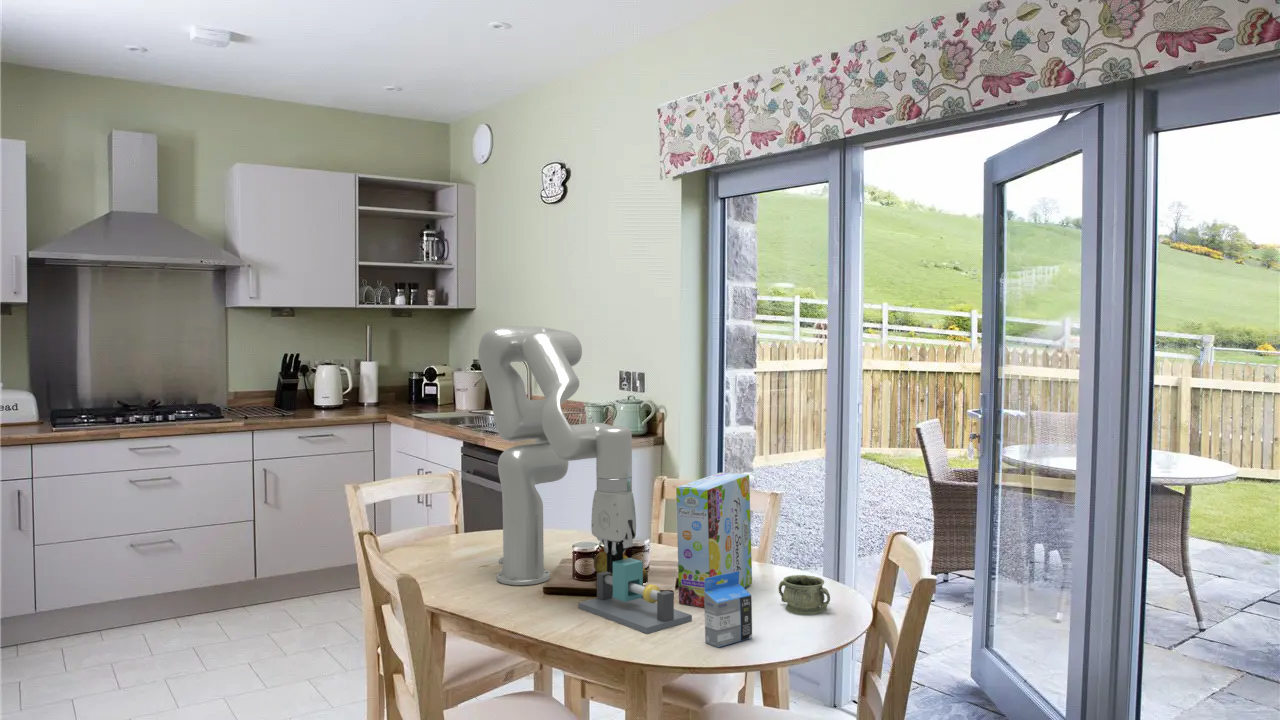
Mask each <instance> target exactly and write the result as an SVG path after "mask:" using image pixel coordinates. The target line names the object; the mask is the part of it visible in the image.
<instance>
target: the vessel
mask: <svg viewBox="0 0 1280 720" xmlns="http://www.w3.org/2000/svg"><path fill="white" fill-rule="evenodd" d="M824 584H825V580H824V579H823V578H822V577H818V576H814V575H806V574H793V575H787V576H785V577H784V578H783V580H781V581H780V582H779V584H778V593H779V595H780V596H781V602H783V603H787V605H786V606H785V610H786V611H787V612H788V613H790V614H794V615H800V616H811V615H817V614H820V613H821V612H822V611H823V612H824V611H827V610H828V608H827V607H828V605H829V604H830V601H831V595H830V592H829V591H828V588H825V587H823V585H824ZM783 586H784V589H783V591H782V587H783ZM825 596H826V601H825Z"/></svg>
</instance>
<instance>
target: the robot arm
mask: <svg viewBox="0 0 1280 720" xmlns="http://www.w3.org/2000/svg"><path fill="white" fill-rule="evenodd" d="M477 353H478V355H477V356H478V357H477V358H478V363H479V365H480V369H481V373H482V374H483V377H484V379H485V382H486V385H487V388H488V391H489V397H490V403H491V408H492V412H493V417H494V421H495V427H496V430H497V433H498V435H499V437H500V438H501V439H502V440H504V441H507V442H516V441H520V442H521V441H527V440H528V441H529V440H534V441H535V443H529V444H523V445H516V446H511V447H509V448H507V449H505V450H504V451H503V452H502V453H501V454H500V455H499V458H498V461H497V471H498V476H499V477H498V478H499V481H500V488H501V489H500V490H501V498H502V503H501V504H502V558H499V559H498V561H497V563H498V564H499V565H501V567H502V568H501V569H502V570H500V571H499V572H498V573H497V574H496V581H498V583H501V584H505V585H509V586H528V585H529V586H531V585H536V584H541V583H544V582H547V581H548V580H550V578H551V572H550V571H549V570H547V569H546V568H544V565H545V564H544V561H545V560H544V503H543V500H542V497H541V495H540V493H539V492H538V490H537V488H536V486H535V485H540V484H547V483H553V482H557V481H560V480H562V479H564V477H565V476H566V475H567V472H568V471H569V470H568V469H569V461H572V462H573V461H580V460H587V459H596V463H595V464H596V465H595V466H596V468H595V471H596V473H595V474H596V490H594V493H593V499H592V508H591V527H590V529H591V534H592V536H594V537H595V538H596V539H597V540H598V541H600V543H602V544H603V547H604V549H603V550H605V552H606V553H607V572H610V573H613V562H614V561H618V560H623V555H624V554H625V553H626V549H628V548H633V547H634V539H635V538H636V535H637V515H636V514H637V513H636V503H635V499H634V493H633V452H632V451H633V450H632V448H633V440H632V439H633V438H632V437H633V436H632V431H631V429H630V428H629V427H626V426H619V425H610V424H608V423H603V422H593V423H581V424H570V423H569V422H568V419H567V418H566V416H565V414H564V412H563V409H562V405H561V404H563V403H564V402H566V401H568V400H569V399H570V398H572V397H573V396H574V395H575V394H576V393H577V391H578V390H579V387H580V379H579V377H578V375H577V373H576V372H575V371H574V369H573V367H574V366H576V365H577V364H578V363H579V362H580V361H581V359H582V355H583V348H582V344H581V341H580V340H579V338H578V337H577V336H576V335H575V334H574V333H573V332H570V331H568V330H561V329H555V328H550V327H544V326H519V325H518V326H515V325H514V326H512V325H510V326H508V325H507V326H496V327H492V328H491V329H488V330H487V331H486V332H485V333H483V334H482V336H481V338H480V341H479V344H478V351H477ZM514 362H516V363H522V362H523V363H525V362H526V364H527V365H528V368H529V370H530V371H531V373H532V375H533V376H534V379H535V380H536V383H537V384H538V386H539V389H540V390H541V393H542V395H544V399H529V397H528V396H527V392H526V388H525V386H526V385H525V383H524V380H523V378H522V377H521V375H520V374H519V372H518V371H517V370H516V369H515V368H514V367H513V366H512V365H511V363H514ZM549 577H550V578H549Z"/></svg>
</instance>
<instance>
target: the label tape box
mask: <svg viewBox="0 0 1280 720" xmlns="http://www.w3.org/2000/svg"><path fill="white" fill-rule="evenodd" d="M739 573H740V571H737V572H732V573H727V574H722V575H717V576H713V577H708V578H705V588H704V607H705V608H704V640H705V642H704V643H706V644H708V645H710V646H711V647H715V648H722V647H724V646H728V645H732V644H734V643H739V642H742V641H747V640H749V639H753V612H752V607H753V605H752V603H753V602H752V601H753V600H752V594H751V593H749V591H747V589H746V588H743V587H742V586H741V585H740V584H739ZM721 579H723V580H728V582H726V583H722V584H717V585H716V582H718V581H721Z"/></svg>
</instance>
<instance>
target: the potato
mask: <svg viewBox="0 0 1280 720" xmlns="http://www.w3.org/2000/svg"><path fill="white" fill-rule="evenodd" d="M603 550H604V551H603ZM603 550H602V551H600V552H599V553H597V554H596V555H595V556H594V559H593V568H594V570H595V571H596V574H597V573H601V572H606V571H607V553H606V552H605V549H603ZM628 558H629V557H628V556H627V555H625V554H623V559H628ZM612 576H613V573H612ZM646 582H647V583H648V582H649V574H648V572H647V570H646V569H645V568H644V567H643V583H646Z"/></svg>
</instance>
